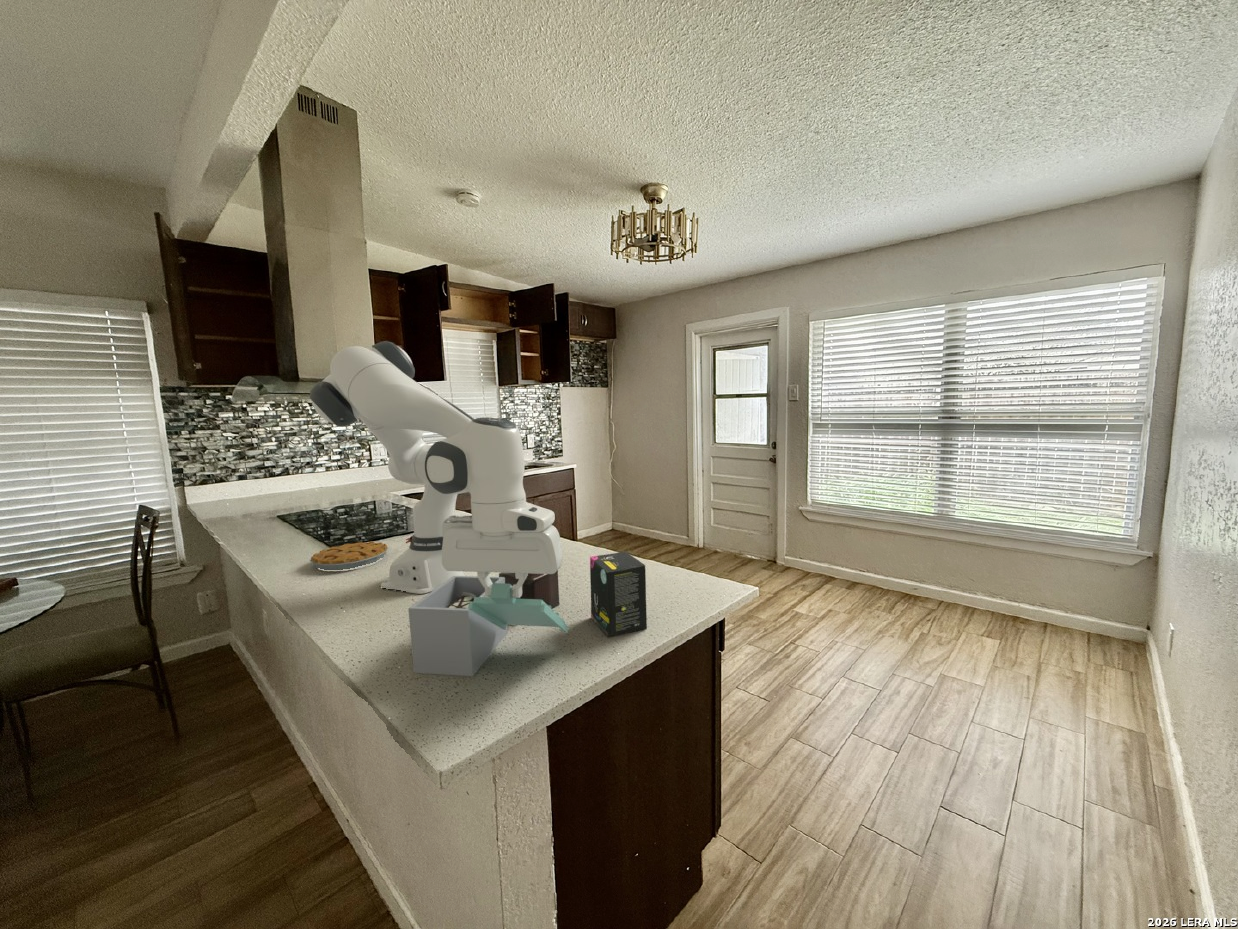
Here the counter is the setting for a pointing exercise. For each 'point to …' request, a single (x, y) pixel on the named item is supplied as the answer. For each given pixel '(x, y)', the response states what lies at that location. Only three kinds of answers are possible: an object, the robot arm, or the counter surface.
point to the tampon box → (618, 593)
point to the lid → (515, 610)
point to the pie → (349, 555)
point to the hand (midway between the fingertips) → (504, 596)
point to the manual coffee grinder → (537, 587)
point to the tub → (452, 630)
